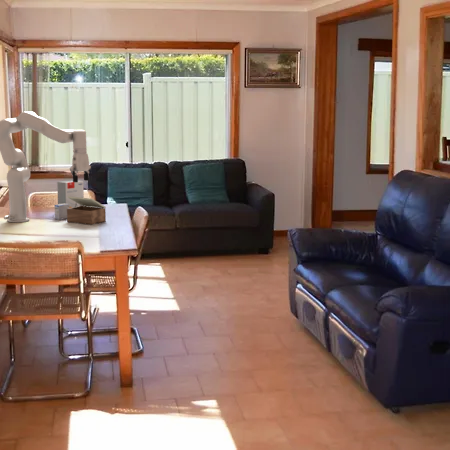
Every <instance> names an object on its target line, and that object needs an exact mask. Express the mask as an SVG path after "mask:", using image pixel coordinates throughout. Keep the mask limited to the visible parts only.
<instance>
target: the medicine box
mask: <svg viewBox="0 0 450 450" xmlns="http://www.w3.org/2000/svg"><path fill="white" fill-rule="evenodd" d="M53 208H54V219H55V220H60V221H61V220H63V219H64V220H65V219H66V220H67V208H69V204H65V203H64V204H58V203H57V204H54V207H53Z"/></svg>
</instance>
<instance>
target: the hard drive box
mask: <svg viewBox="0 0 450 450" xmlns="http://www.w3.org/2000/svg"><path fill="white" fill-rule="evenodd" d="M56 183H57V204H64V203H65V204H69V208H73V207H78V206H82V205H80V204H78V203H76V202H75V201H73V200H71V199H69V198H68V196H70V197H79V198H85V197H84V193H85V192H84V180H79V179H78V182H73V179H71V180H64V181H63V180H62V181H57V182H56Z"/></svg>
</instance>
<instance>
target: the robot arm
mask: <svg viewBox="0 0 450 450" xmlns="http://www.w3.org/2000/svg"><path fill="white" fill-rule="evenodd" d="M26 129H30V130H32V131H35V132H37V133H39V134H41V135H42V136H45V137H46V138H47V139H50V140H52V141H55V142H57V143H59V144H67V143H72V153H73V154H72V161H71V163H72V164H71V165H72V166H70V168H69V171H70V174H71V176H72V180H73V182H78V180H79V179H78V176H79V175H78V173H80V172H81V173H82V172H83V181H85V182H86V181H88V182H89V181H90V177H89V176H90V175H89V174H90V171H91V168H92V166H91V165H90V159H89V155H88V153H87V151H88V150H87V132H86V130H84V129H66V128H65V129H61V128H59V127H56V126H54V125H52V124H51V123H50V121H49V120H48V119H46V118H44V117H41V116H38V115H37V113H36V112H34V111H29V110H28V111H26V110H25V111H22V112H20V114H19V115H18V116H15V117H12V118H10V117H9V118H4V119H1V120H0V155H1V157H2V161H3V163H4V164H5V165H6V166H9V167H12V168H9V170H8V171H7V173H6V181H7V187H8V201H9V213H8V215H4V216H3V219H4V220H7V222H9V223H24V222H29V221H30V218H29V217H27V197H26V196H27V195H26V193H27V192H26V185H25V182H27V181H28V180H29V179H30V178H31V169H30V167H29V164H28V163H29V162H28V161H27V158H26V156H25V155H26V154H25V153H24V152H23V151H22V150H21V149H19V148H16V147H15V144H14V142H13V139H12V137H11V136H10V134H15V133H19V132H21V131H24V130H26Z"/></svg>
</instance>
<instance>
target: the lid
mask: <svg viewBox="0 0 450 450" xmlns="http://www.w3.org/2000/svg"><path fill="white" fill-rule="evenodd" d="M68 198H69V199H71V200H73V201H75V202H76V203H78V204H80V205H82V206H89V207H98V208H105V209H106V208H107V207H106V206H105V205H104V204H102V203H101V202H99V201H97V200H95V199H93V198H89V197H88V198H87V197H84V198H79V197H70V196H68Z"/></svg>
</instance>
